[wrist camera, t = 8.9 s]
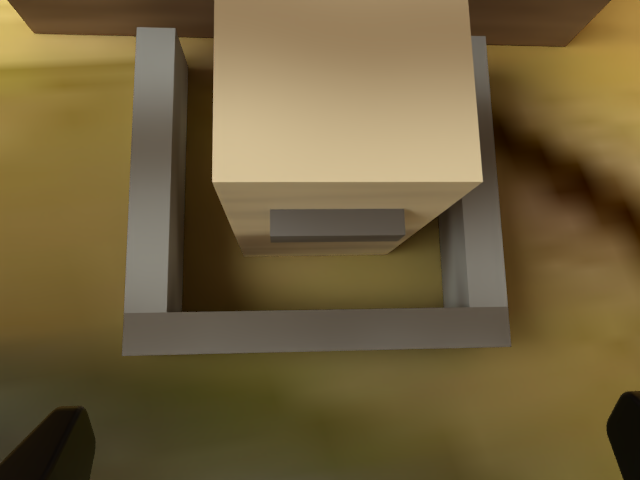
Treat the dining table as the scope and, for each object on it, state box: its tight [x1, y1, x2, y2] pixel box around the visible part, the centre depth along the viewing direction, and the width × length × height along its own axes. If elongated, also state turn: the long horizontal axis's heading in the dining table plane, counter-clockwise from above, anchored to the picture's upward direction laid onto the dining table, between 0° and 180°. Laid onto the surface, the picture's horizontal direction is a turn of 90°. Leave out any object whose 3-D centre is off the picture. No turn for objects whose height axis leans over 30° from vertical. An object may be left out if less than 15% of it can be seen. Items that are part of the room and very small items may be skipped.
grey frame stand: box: [8, 0, 611, 356], centre depth 14 cm, size 13×20×10 cm, turn 91°
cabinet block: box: [212, 0, 483, 257], centre depth 14 cm, size 6×5×9 cm
